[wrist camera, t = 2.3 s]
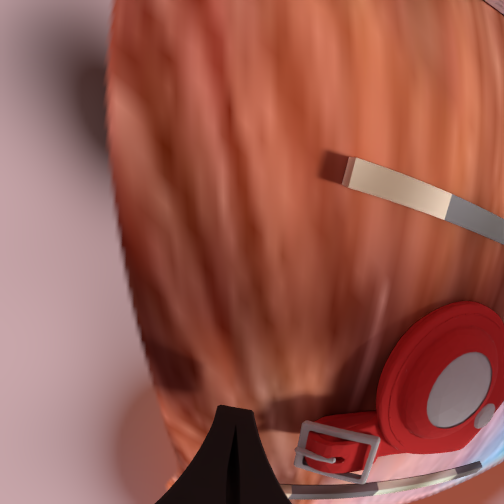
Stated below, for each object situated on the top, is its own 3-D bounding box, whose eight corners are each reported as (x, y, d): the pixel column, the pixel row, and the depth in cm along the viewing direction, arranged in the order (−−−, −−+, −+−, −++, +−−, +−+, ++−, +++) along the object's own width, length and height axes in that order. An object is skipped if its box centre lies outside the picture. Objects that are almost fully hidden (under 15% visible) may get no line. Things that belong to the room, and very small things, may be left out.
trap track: (595, 278, 11) (601, 281, 10) (473, 467, 18) (476, 472, 17) (348, 156, 10) (356, 157, 9) (231, 485, 16) (230, 494, 16)
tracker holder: (471, 259, 10) (545, 374, 9) (423, 257, 14) (503, 355, 14) (271, 477, 10) (397, 532, 10) (271, 426, 15) (380, 490, 14)
